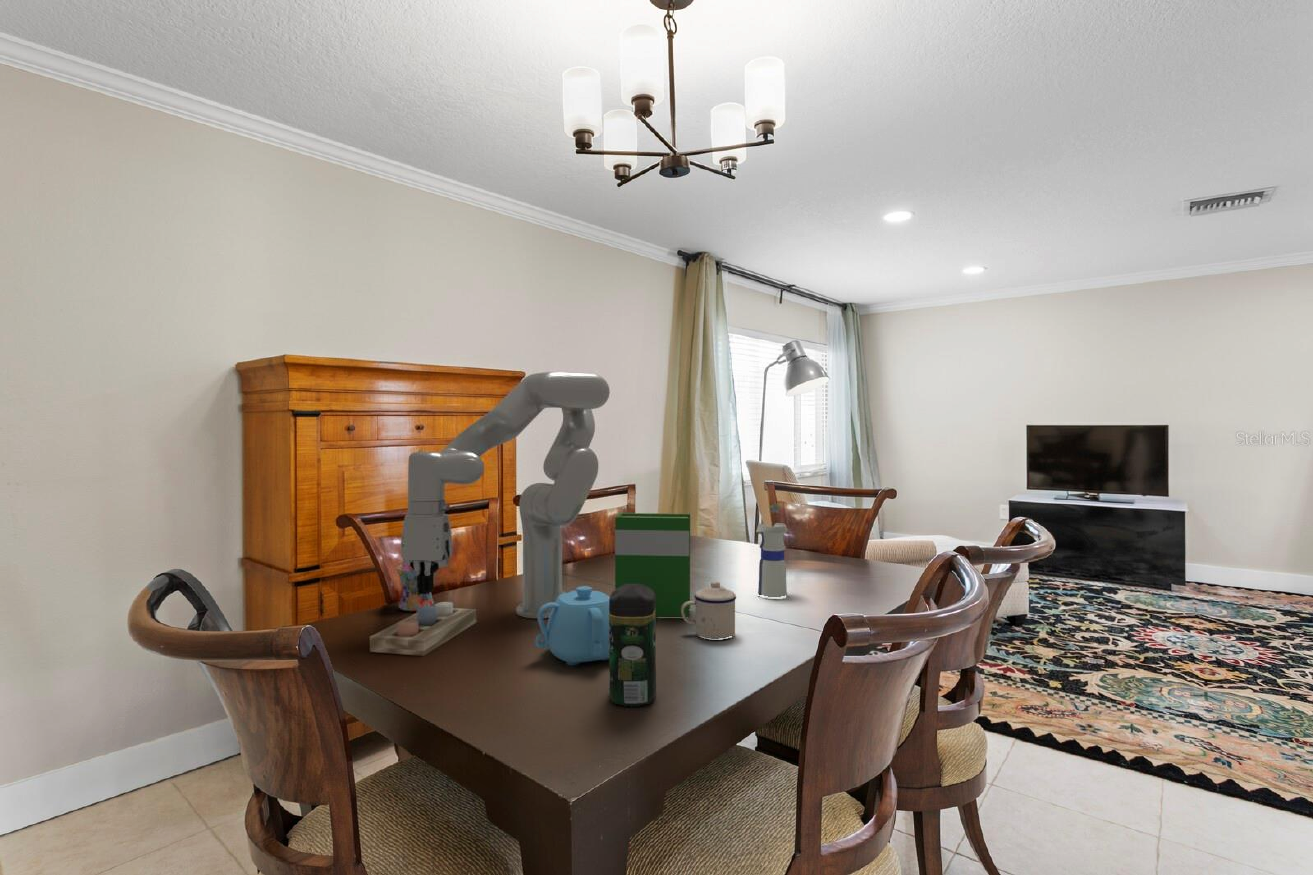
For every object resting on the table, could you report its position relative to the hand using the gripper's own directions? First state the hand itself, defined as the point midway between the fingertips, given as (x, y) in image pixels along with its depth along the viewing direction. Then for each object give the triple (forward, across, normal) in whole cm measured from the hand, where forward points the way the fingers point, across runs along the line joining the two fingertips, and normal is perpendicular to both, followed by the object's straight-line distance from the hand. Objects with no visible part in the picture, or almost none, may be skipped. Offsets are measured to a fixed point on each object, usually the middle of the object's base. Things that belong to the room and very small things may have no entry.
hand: (425, 592), depth 137 cm
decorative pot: (+9, -38, +4) cm, 39 cm away
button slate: (+7, 0, 0) cm, 7 cm away
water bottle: (+8, -73, -49) cm, 88 cm away
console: (+9, 0, 0) cm, 9 cm away
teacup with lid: (+9, -60, -14) cm, 62 cm away
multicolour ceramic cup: (+10, +14, -20) cm, 26 cm away
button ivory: (+8, 0, -7) cm, 11 cm away
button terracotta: (+8, 0, +7) cm, 11 cm away
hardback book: (+9, -45, -26) cm, 53 cm away
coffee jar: (+9, -52, +20) cm, 56 cm away
